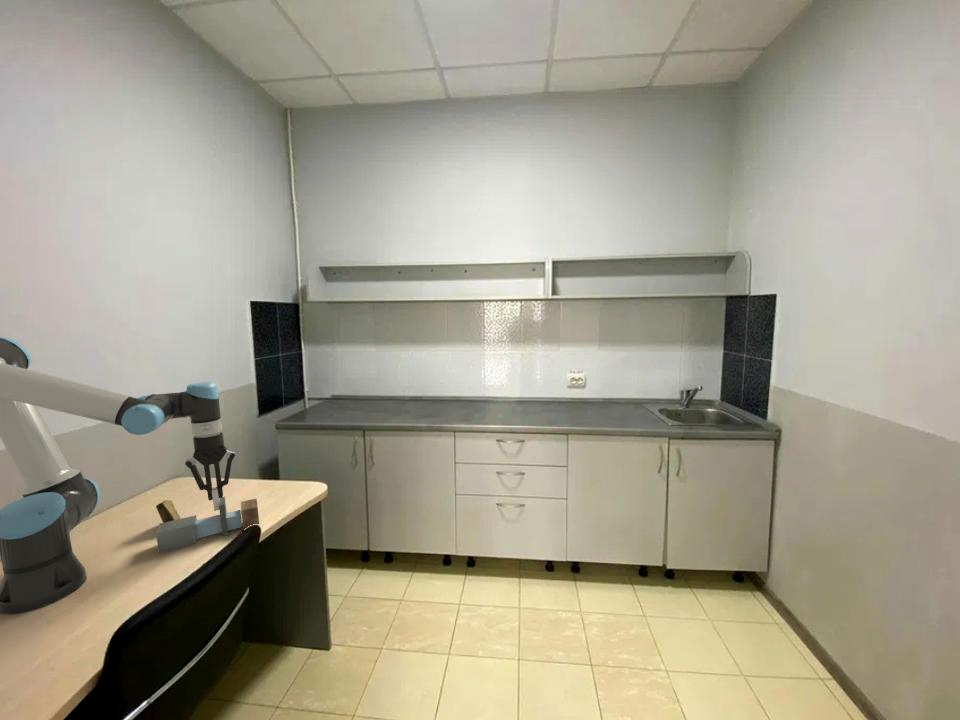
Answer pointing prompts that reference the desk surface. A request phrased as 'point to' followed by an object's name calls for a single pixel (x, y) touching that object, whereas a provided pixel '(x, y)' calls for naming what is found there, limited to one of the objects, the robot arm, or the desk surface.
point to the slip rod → (218, 522)
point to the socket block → (249, 513)
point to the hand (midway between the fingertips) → (217, 508)
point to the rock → (167, 511)
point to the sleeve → (176, 534)
